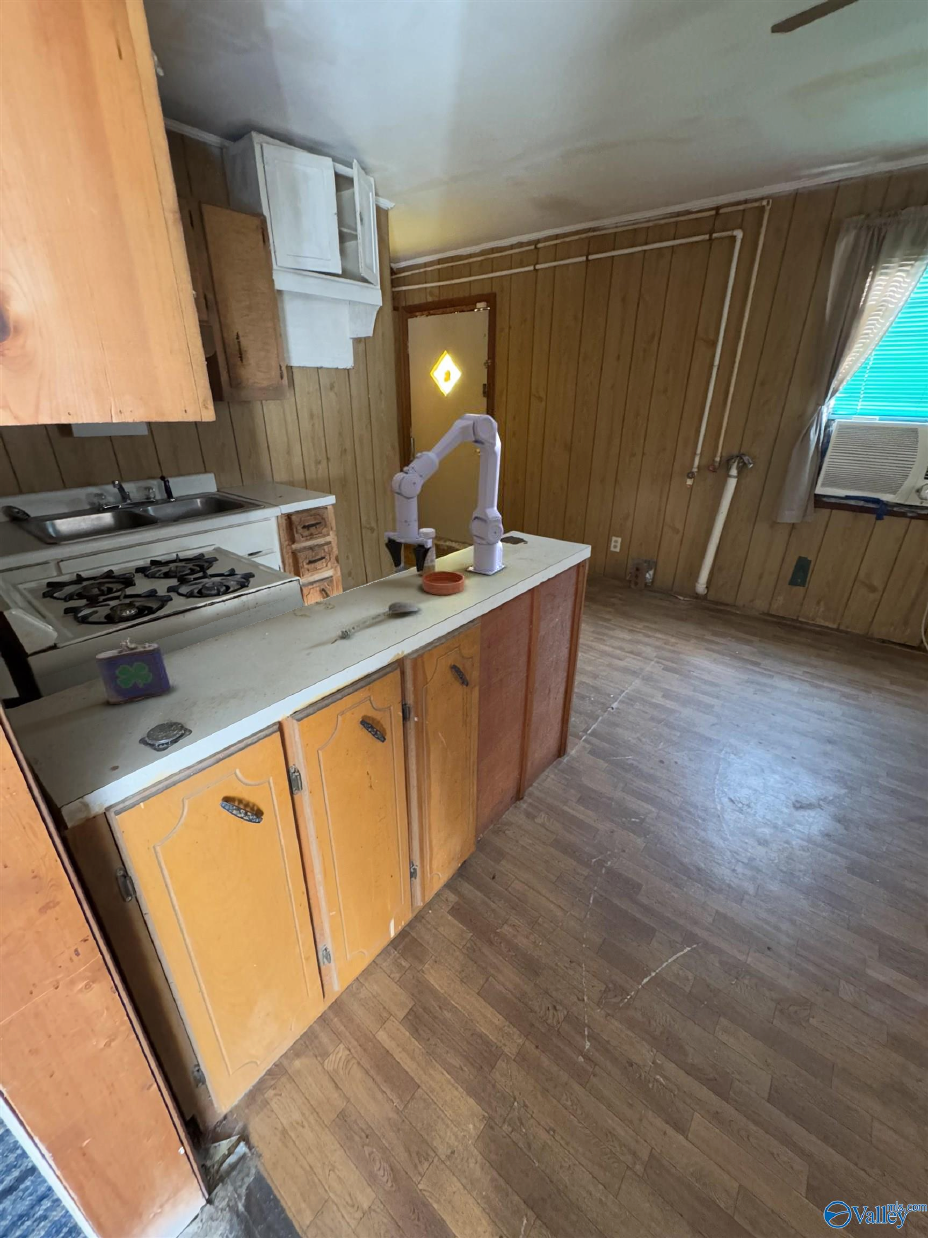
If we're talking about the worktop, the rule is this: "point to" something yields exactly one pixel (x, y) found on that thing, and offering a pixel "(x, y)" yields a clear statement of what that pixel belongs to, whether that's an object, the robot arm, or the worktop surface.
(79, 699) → the worktop surface
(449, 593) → the terracotta plant saucer
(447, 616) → the worktop surface
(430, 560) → the sprinkles bottle
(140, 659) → the flask
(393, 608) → the soupspoon
